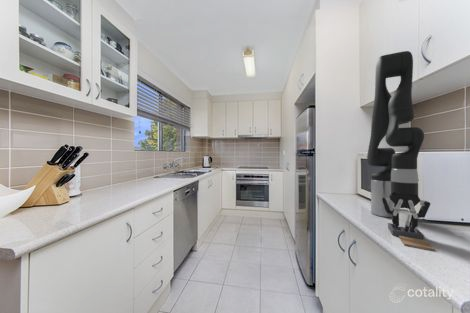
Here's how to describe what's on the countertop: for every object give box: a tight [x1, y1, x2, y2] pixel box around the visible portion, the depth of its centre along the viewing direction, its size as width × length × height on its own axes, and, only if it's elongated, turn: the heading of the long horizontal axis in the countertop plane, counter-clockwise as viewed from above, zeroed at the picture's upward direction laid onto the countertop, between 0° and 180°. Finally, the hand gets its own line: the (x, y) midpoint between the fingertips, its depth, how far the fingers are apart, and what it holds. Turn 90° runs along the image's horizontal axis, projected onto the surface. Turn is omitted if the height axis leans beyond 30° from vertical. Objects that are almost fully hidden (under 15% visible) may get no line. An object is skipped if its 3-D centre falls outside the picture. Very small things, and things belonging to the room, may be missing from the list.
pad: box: [398, 236, 436, 252], centre depth 61 cm, size 7×7×1 cm
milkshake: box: [397, 208, 413, 232], centre depth 68 cm, size 4×5×10 cm
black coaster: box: [387, 222, 425, 240], centre depth 68 cm, size 8×8×2 cm
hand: (404, 226), depth 68 cm, fingers closed on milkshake, 4 cm apart
